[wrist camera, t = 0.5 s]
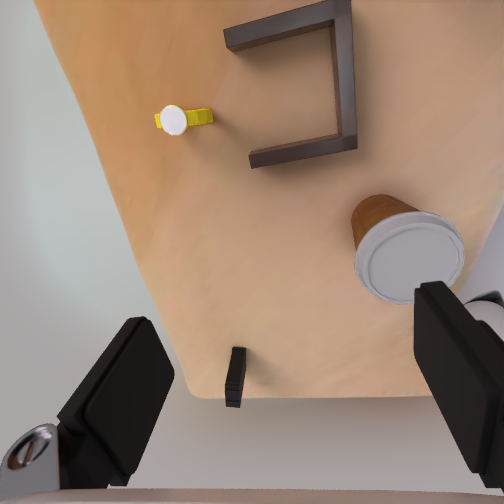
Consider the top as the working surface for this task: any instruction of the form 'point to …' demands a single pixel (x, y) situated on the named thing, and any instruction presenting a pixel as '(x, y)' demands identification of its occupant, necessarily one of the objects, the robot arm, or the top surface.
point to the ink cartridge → (235, 377)
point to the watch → (181, 118)
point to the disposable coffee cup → (403, 248)
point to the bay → (340, 22)
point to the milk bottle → (488, 314)
